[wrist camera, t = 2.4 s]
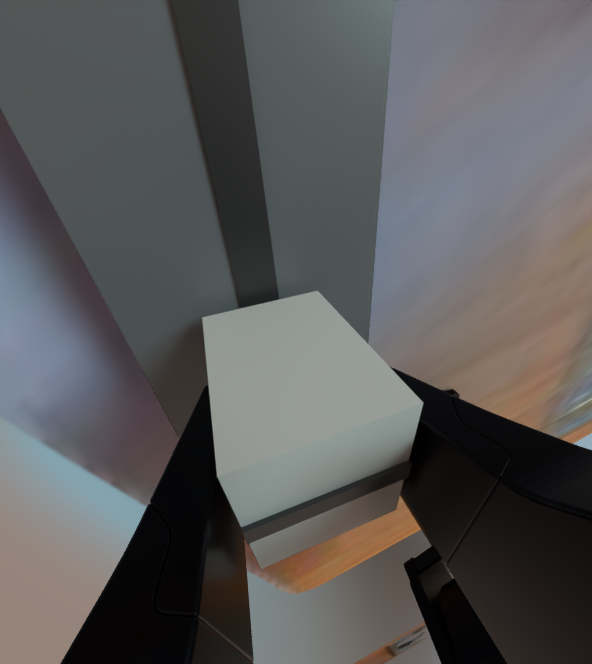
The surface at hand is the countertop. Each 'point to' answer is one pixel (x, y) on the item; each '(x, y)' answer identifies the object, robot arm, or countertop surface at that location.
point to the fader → (304, 424)
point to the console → (204, 157)
